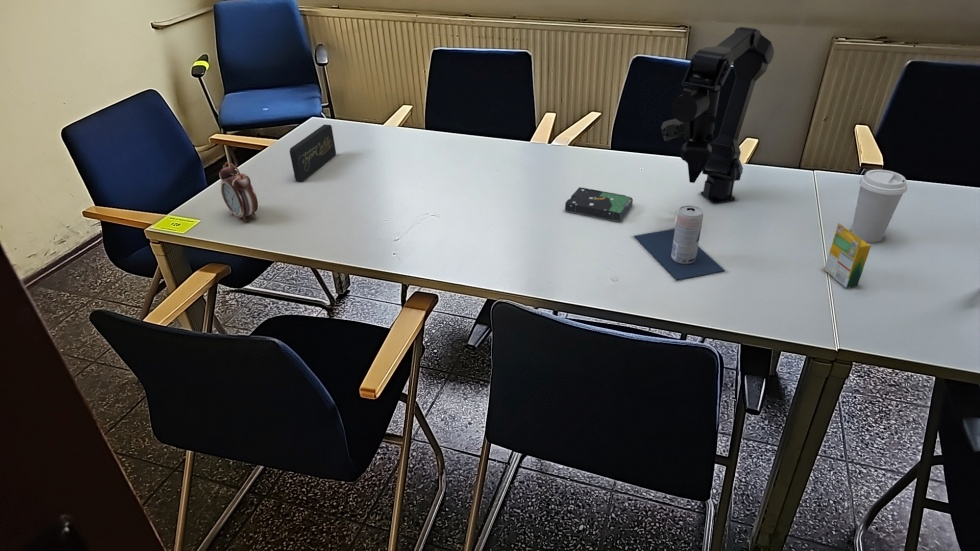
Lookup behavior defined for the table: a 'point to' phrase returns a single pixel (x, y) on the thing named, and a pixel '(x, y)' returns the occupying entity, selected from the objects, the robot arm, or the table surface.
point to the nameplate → (312, 152)
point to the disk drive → (599, 204)
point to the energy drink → (687, 234)
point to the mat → (662, 250)
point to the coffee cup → (877, 203)
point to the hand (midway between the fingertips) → (693, 174)
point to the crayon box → (847, 257)
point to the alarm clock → (238, 192)
